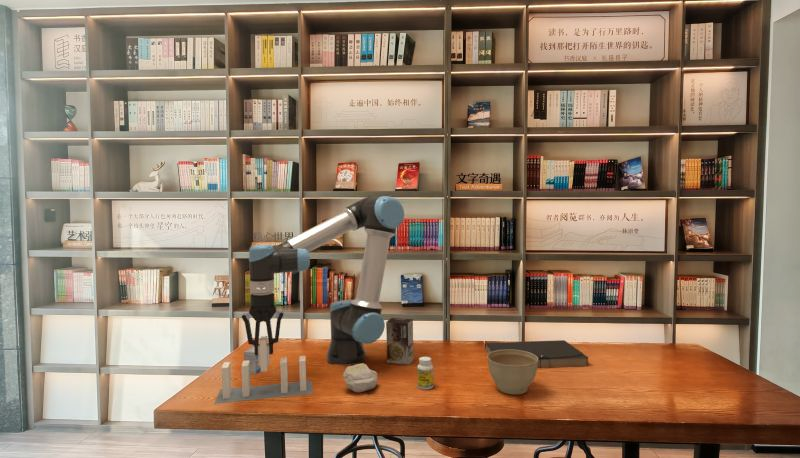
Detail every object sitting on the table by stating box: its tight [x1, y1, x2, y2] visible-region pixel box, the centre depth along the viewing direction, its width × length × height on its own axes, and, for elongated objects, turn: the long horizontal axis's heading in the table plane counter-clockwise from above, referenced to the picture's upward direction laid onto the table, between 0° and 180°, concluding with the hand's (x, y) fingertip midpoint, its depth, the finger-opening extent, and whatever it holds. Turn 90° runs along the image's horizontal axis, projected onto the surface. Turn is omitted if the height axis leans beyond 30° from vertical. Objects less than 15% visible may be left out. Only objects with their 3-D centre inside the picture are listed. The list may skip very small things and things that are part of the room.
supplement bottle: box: [416, 356, 435, 390], centre depth 158 cm, size 5×5×10 cm
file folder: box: [484, 339, 589, 369], centre depth 186 cm, size 33×4×24 cm
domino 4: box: [280, 356, 289, 393], centre depth 156 cm, size 2×5×10 cm, turn 12°
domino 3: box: [259, 335, 269, 373], centre depth 154 cm, size 2×5×10 cm, turn 12°
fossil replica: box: [342, 362, 379, 393], centre depth 157 cm, size 12×8×10 cm
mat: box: [214, 380, 314, 405], centre depth 155 cm, size 30×11×1 cm, turn 102°
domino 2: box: [241, 360, 252, 397], centre depth 154 cm, size 2×5×10 cm, turn 12°
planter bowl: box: [486, 349, 538, 395], centre depth 155 cm, size 16×16×11 cm
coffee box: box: [385, 317, 414, 366], centre depth 183 cm, size 9×6×16 cm
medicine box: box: [243, 345, 261, 375], centre depth 174 cm, size 8×4×9 cm, turn 168°
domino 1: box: [221, 361, 233, 399], centre depth 152 cm, size 2×5×10 cm, turn 12°
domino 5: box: [298, 355, 307, 391], centre depth 157 cm, size 2×5×10 cm, turn 12°
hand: (264, 364), depth 154 cm, fingers closed on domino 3, 2 cm apart
